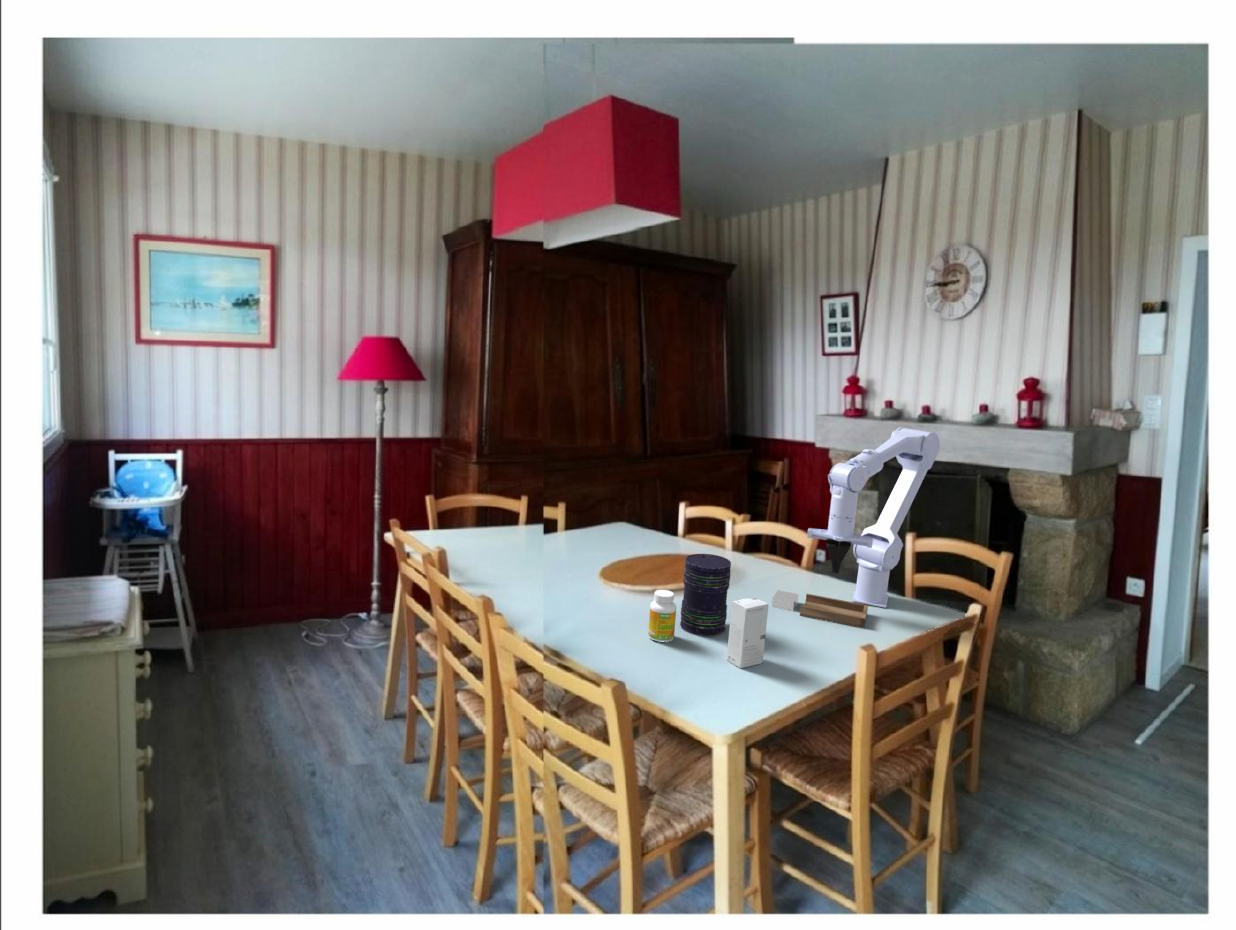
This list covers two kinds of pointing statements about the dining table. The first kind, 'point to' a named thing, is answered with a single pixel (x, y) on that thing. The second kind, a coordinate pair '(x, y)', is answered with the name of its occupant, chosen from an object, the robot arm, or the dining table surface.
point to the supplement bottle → (662, 616)
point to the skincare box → (747, 632)
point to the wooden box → (834, 610)
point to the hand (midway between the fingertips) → (835, 571)
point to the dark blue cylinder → (705, 594)
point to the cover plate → (785, 600)
